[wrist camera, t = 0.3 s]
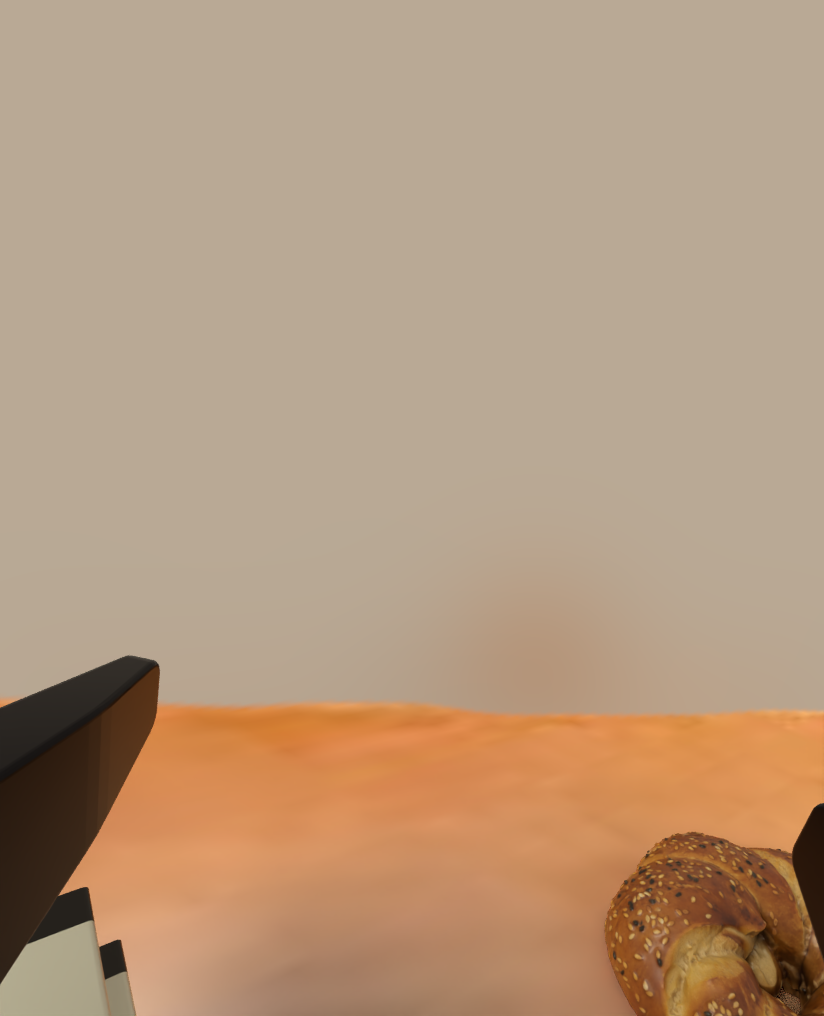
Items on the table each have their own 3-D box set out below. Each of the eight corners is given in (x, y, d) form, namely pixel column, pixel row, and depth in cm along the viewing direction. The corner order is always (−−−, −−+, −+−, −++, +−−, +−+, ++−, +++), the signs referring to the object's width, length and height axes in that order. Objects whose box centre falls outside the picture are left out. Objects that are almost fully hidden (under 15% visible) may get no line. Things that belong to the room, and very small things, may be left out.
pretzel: (616, 1137, 19) (666, 1074, 17) (581, 826, 29) (611, 769, 27) (1018, 1269, 18) (1107, 1217, 17) (841, 906, 28) (886, 853, 27)
